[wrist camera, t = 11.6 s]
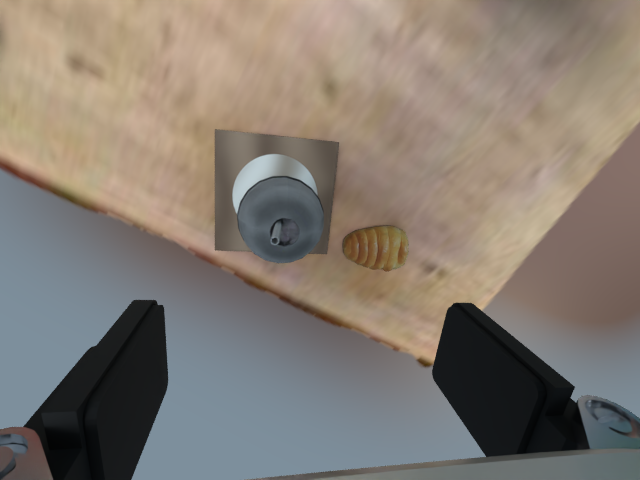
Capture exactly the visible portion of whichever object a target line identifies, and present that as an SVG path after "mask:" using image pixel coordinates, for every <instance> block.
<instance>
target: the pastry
mask: <svg viewBox="0 0 640 480" xmlns="http://www.w3.org/2000/svg"><path fill="white" fill-rule="evenodd" d="M343 251H344V254H345V255H346V257H347V258H348V259H349V260H351V261H354V262H355V263H357V264H359V265H363V266H365V267H369V268H370V269H373V270H376V269H383V270H384V271H390V270H392V269H397V268H399V267H401V266H403V265H404V264H405V261H406V259H407V255H408V238H407V236H406V233H405V232H404V231H403V230H400V229H398V228H396V227H394V226H380V227H371V228H366V229H361V230H356V231H354V232H352V233H350V234H348V235H347V236H346V237H345V239H344V242H343Z"/></svg>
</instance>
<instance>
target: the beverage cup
mask: <svg viewBox="0 0 640 480" xmlns="http://www.w3.org/2000/svg"><path fill="white" fill-rule="evenodd" d="M237 221H238V229H239V231H240V234H241V236H242V238H243V240H244V242H245V244H246V245H247V246H248V247H249V248H250V249H251V250H252V251H253V253H254V254H256V255H258V256H259V257H261V258H263V259H264V260H267V261H271V262H276V263H288V262H293V261H296V260H298V259H301V258H303V257H304V256H305V255H307V254H308V253H309V252H311V251H312V250H313V249H314V247H315V246H316V244H317V243H318V242H319V240H320V237H321V234H322V231H323V227H324V210H323V207H322V204H321V201H320V198H319V197H318V196H317V194H316V193H315V192H314V190H313V189H312V188H311V187H310V186H308V185H307V184H305V183H304V182H303V181H301V180H299V179H296V178H292V177H289V176H272V177H269V178H266V179H263V180H260V181H258V182H257V183H256V184H255V185H253V186H252V187H251V188H249V189H248V190H247V192H246V193H245V195H244V196H243V198H242V200H241V201H240V204H239V208H238V212H237Z"/></svg>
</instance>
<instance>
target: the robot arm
mask: <svg viewBox="0 0 640 480" xmlns="http://www.w3.org/2000/svg"><path fill="white" fill-rule="evenodd" d="M165 335H166V334H165V317H164V307H163V305H158V304H157V301H156V300H134V301H133V302H132V303H131V304H130V305H129V306H128V308H127V309H126V310H125V311H124V312H123V314H122V315H121V316H120V317H119V319H118V320H117V321H116V322H115V323H114V325H113V326H112V327H111V328H110V330H109V331H108V332H107V333H106V335H105V336H104V337H103V338H102V339H101V341H100V342H99V343H98V344H97V345H96V346H94V347H91V348H90V349H89V350H88V351H87V352H86V353H85V354H84V355H83V356H82V358H81V359H80V360H79V361H78V362H77V364H76V365H75V366H74V367H73V368H72V370H71V371H70V372H69V373H68V374H67V375H66V377H65V378H64V379H63V380H62V381H61V382H60V384H59V385H58V386H57V387H56V389H55V390H54V391H53V392H52V393H51V394H50V396H49V397H48V398H47V399H46V400H45V402H44V403H43V404H42V405H41V406H40V408H39V409H38V410H37V411H36V412H35V414H34V415H33V416H32V417H31V418H30V420H29V421H28V422H27V423H26V424H25V425H24V426H23V427H9V428H4V429H0V480H131V479H132V476H133V474H134V471H135V469H136V466H137V464H138V461H139V459H140V456H141V453H142V451H143V449H144V446H145V443H146V441H147V438H148V436H149V433H150V431H151V428H152V425H153V423H154V421H155V418H156V415H157V413H158V411H159V408H160V406H161V403H162V400H163V398H164V395H165V393H166V390H167V385H168V369H167V352H166V336H165ZM432 375H433V379H434V381H435V382H436V384H437V385H438V387H439V388H440V390H441V391H442V393H443V394H444V396H445V397H446V398H447V400H448V401H449V403H450V404H451V406H452V407H453V409H454V410H455V412H456V413H457V415H458V416H459V417H460V419H461V420H462V422H463V423H464V425H465V426H466V427H467V429H468V430H469V432H470V434H471V435H472V436H473V438H474V439H475V441H476V442H477V444H478V445H479V447H480V448H481V450H482V451H483V453H484V454H485V455H486V457H480V458H469V459H458V460H446V461H436V462H424V463H413V464H402V465H391V466H380V467H370V468H360V469H348V470H337V471H328V472H318V473H307V474H296V475H286V476H277V477H266V478H256V479H246V480H640V418H639V417H637V416H636V415H634V414H633V413H632V412H630V411H629V410H627V409H625V408H623V407H622V406H620V405H618V404H616V403H614V402H611V401H609V400H607V399H603V398H600V397H597V396H590V395H586V396H581V397H580V398H579V399H578V400H577V403H575V402H574V401H573V400H572V399H571V398H570V397H571V395H572V392H573V390H574V388H575V387H574V386H573V385H572V384H571V383H570V382H568V381H567V380H566V379H565V378H563V377H562V376H561V375H560V374H558V373H557V372H556V371H555V370H554V369H552V368H551V367H550V366H549V365H547V364H546V363H545V362H544V361H542V360H541V359H540V358H539V357H538V356H536V355H535V354H534V353H533V352H531V351H530V350H529V349H528V348H527V347H525V346H524V345H523V344H522V343H520V342H519V341H518V340H517V339H515V338H514V337H513V336H511V334H509V333H508V332H507V331H506V330H504V329H503V328H502V327H501V326H499V325H498V324H497V323H496V322H495V321H493V320H492V319H491V318H490V317H488V316H487V315H486V314H485V313H484V312H482V311H481V310H480V309H479V308H477V307H476V306H475V305H474V304H472V303H454V304H453V305H452V306H451V307H449V308H448V310H447V313H446V317H445V321H444V325H443V329H442V333H441V337H440V341H439V345H438V349H437V353H436V357H435V361H434V365H433V370H432Z"/></svg>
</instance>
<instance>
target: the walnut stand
mask: <svg viewBox="0 0 640 480" xmlns="http://www.w3.org/2000/svg"><path fill="white" fill-rule="evenodd" d="M338 149H339V142H332V141H322V140H313V139H303V138H293V137H284V136H274V135H265V134H255V133H245V132H236V131H226V130H217V129H215V250H221V251H250V252H253V251H252V250H251V249H250V248H249V247H248V246H247V245H246V244H245V242H244V240H243V238H242V236H241V234H240V231H239V229H238V221H237V212H238V208H239V204H240V201H241V200H242V198H243V196H244V195H245V193H246V192H247V190H248V189H249V188H251V187H252V186H253V185H255V184H256V183H257V182H258V181H260V180H263V179H266V178H269V177H272V176H289V177H292V178H296V179H299V180H301V181H303V182H304V183H305V184H307V185H308V186H310V187H311V188H312V189H313V190H314V192H315V193H316V194H317V196H318V197H319V198H320V201H321V204H322V207H323V210H324V227H323V231H322V234H321V237H320V240H319V242H318V243H317V244H316V246H315V247H314V249H313V250H312V251H311V252H309V253H308V254H327V249H328V240H329V231H330V222H331V213H332V204H333V194H334V185H335V176H336V167H337V158H338Z"/></svg>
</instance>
